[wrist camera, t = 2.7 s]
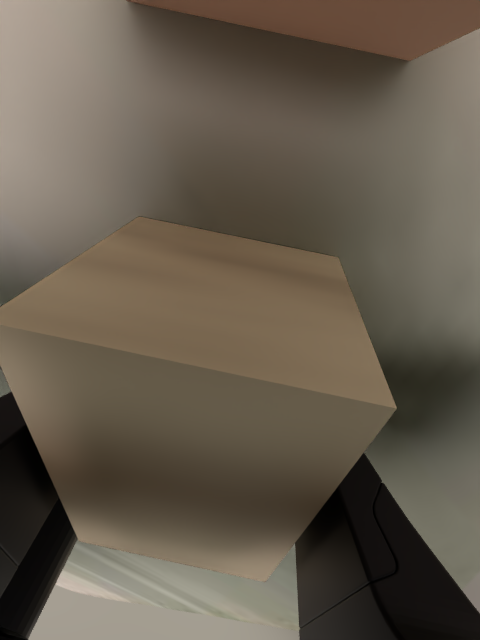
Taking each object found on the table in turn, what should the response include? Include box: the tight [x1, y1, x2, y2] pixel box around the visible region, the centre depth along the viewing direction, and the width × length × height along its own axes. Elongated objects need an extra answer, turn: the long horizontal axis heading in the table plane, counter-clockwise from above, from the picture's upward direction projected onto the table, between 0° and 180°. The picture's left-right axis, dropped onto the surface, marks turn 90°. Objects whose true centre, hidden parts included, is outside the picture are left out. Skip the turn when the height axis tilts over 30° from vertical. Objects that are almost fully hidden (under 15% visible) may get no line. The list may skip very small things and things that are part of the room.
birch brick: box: [0, 217, 397, 582], centre depth 8 cm, size 8×6×5 cm
